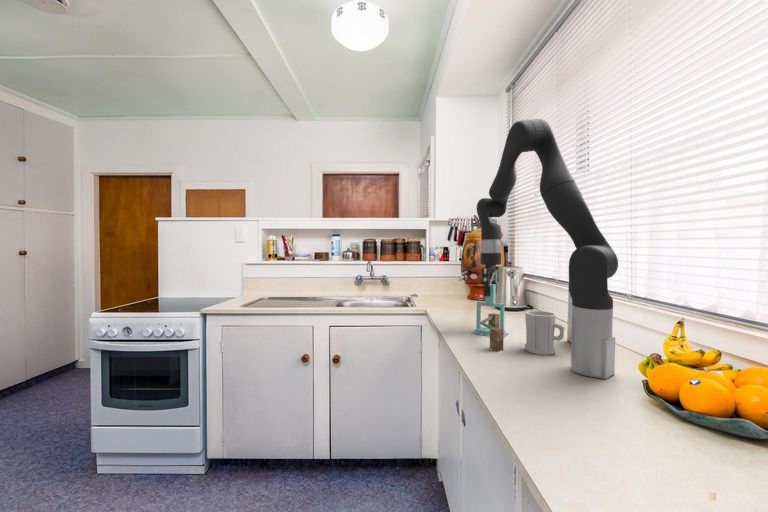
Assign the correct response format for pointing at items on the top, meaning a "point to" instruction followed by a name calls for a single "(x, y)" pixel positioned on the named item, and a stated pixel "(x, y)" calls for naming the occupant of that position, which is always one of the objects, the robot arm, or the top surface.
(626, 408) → the top surface
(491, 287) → the turquoise frame with handle
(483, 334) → the pad
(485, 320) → the wire
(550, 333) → the cup
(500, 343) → the wood grain block
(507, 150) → the robot arm
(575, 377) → the top surface
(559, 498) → the top surface
